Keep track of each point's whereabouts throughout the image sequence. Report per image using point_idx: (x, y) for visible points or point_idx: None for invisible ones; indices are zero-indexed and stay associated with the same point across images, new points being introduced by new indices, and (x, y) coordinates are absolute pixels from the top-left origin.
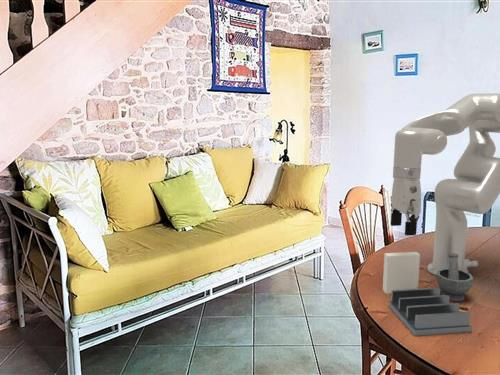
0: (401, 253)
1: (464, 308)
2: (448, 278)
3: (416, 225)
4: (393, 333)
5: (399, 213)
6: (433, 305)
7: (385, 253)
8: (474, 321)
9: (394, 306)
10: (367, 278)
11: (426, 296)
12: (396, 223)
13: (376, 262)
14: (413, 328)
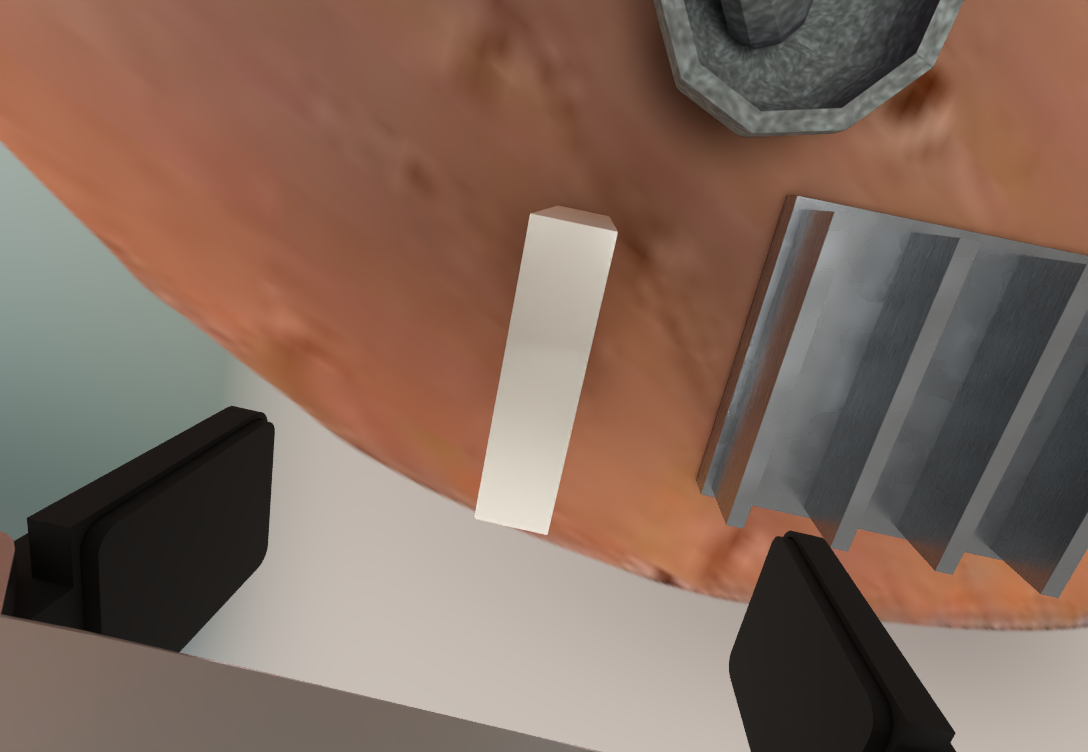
0: (525, 385)
1: (920, 85)
2: (744, 9)
3: (901, 662)
4: (920, 606)
5: (85, 581)
6: (1017, 435)
7: (479, 512)
8: (1068, 156)
9: (764, 502)
10: (349, 384)
11: (901, 392)
12: (248, 508)
13: (111, 179)
14: (992, 556)
